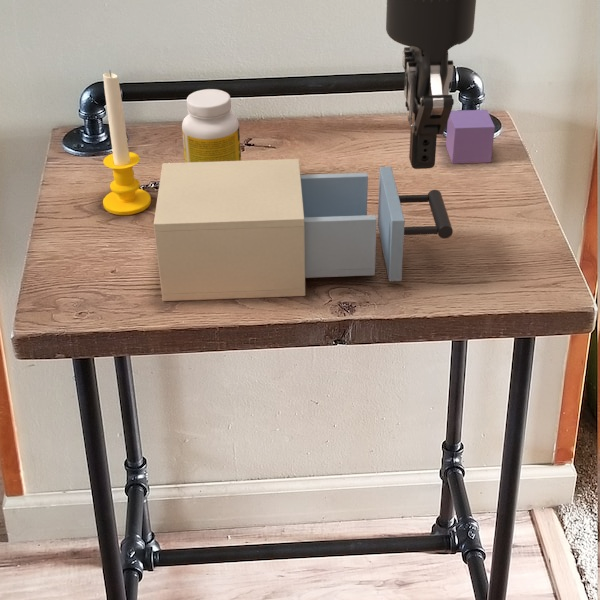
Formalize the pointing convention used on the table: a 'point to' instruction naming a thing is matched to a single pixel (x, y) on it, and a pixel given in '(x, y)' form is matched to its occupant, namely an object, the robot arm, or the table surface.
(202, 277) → the drawer cabinet
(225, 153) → the pill bottle
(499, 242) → the table surface
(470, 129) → the block
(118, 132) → the candle
